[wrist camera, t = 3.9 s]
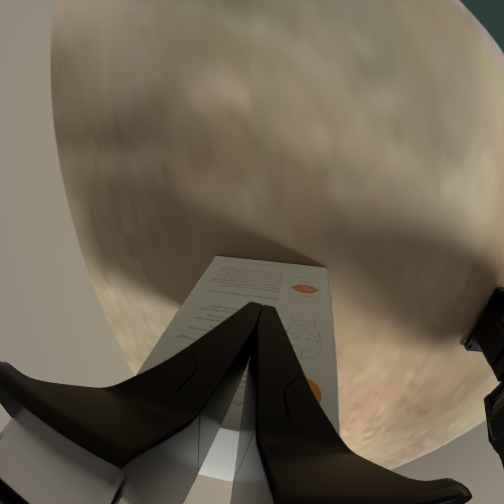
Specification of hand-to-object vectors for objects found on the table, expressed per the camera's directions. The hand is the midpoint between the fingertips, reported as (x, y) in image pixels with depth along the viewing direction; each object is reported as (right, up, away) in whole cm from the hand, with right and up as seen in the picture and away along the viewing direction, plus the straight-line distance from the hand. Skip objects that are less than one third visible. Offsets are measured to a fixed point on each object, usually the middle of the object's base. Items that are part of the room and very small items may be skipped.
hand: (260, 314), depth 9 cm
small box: (+1, -1, +12) cm, 12 cm away
